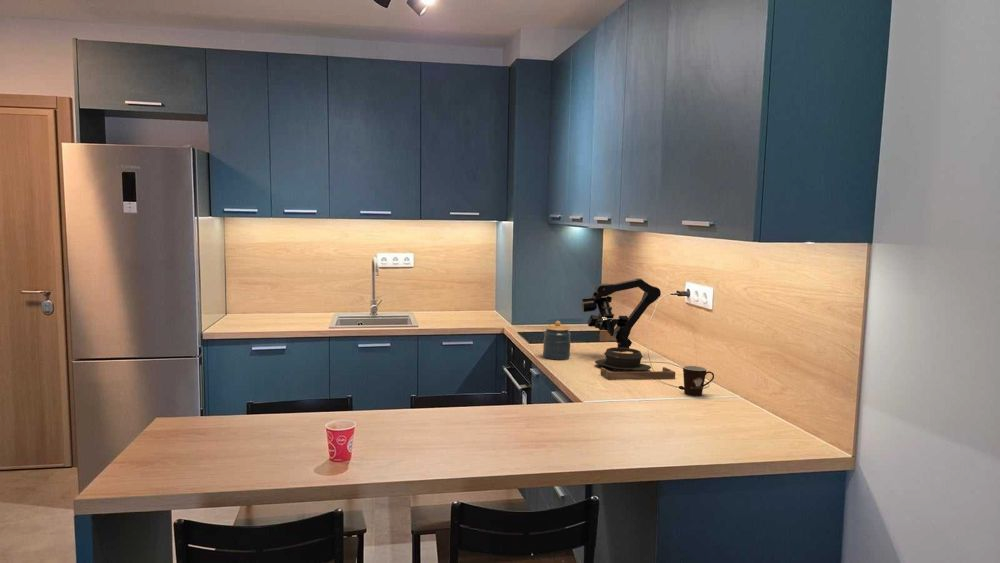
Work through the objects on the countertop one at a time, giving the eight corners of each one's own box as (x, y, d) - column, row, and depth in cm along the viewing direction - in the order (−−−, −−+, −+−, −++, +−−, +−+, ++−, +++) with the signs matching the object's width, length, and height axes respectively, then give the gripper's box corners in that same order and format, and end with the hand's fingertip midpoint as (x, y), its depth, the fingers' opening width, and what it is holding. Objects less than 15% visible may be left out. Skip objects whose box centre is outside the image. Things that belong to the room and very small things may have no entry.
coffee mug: (681, 395, 244) (682, 369, 243) (681, 390, 252) (683, 365, 251) (713, 398, 240) (715, 372, 239) (712, 393, 248) (714, 368, 248)
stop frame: (600, 374, 273) (600, 367, 273) (664, 373, 280) (665, 367, 280) (608, 379, 264) (609, 372, 264) (675, 378, 271) (675, 371, 271)
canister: (538, 355, 311) (540, 318, 309) (563, 354, 314) (565, 318, 313) (548, 360, 298) (550, 323, 297) (574, 360, 302) (576, 322, 301)
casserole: (588, 368, 285) (589, 349, 285) (603, 361, 301) (604, 344, 301) (643, 376, 273) (644, 357, 272) (656, 369, 289) (657, 350, 288)
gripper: (617, 319, 317) (625, 345, 307) (581, 318, 313) (588, 345, 303) (624, 305, 309) (633, 331, 299) (588, 304, 305) (595, 331, 295)
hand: (612, 335), depth 299 cm, fingers closed
